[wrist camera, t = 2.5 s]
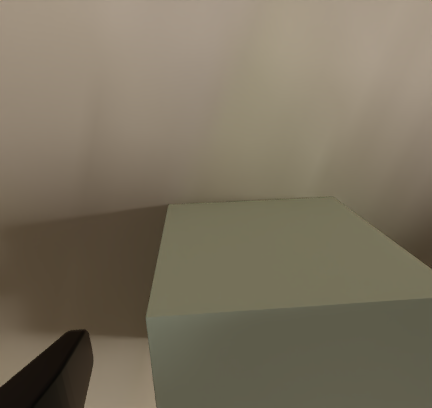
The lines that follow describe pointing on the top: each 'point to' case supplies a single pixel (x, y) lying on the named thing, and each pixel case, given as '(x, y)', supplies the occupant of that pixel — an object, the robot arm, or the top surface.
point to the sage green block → (287, 310)
